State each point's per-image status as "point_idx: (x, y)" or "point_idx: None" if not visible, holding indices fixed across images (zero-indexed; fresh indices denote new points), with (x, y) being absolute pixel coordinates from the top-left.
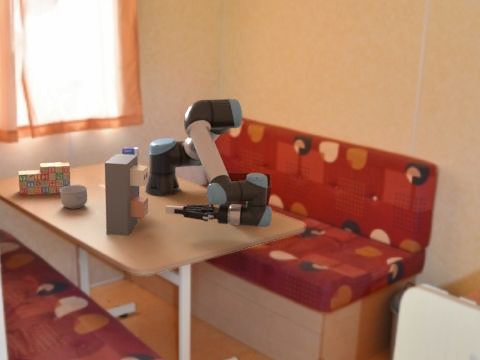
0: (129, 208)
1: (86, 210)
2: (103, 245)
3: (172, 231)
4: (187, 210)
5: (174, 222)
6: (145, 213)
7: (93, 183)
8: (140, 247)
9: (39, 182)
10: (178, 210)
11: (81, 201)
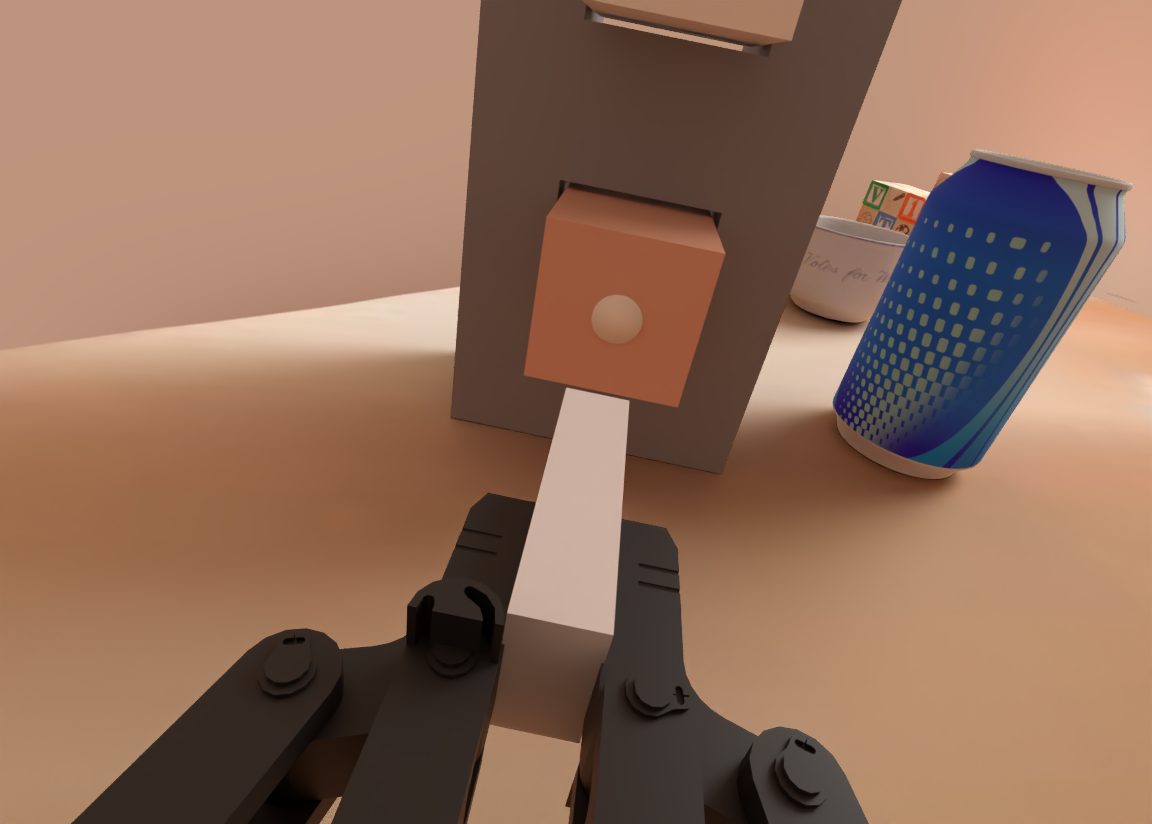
0: (529, 243)
1: (804, 328)
2: (297, 332)
3: (559, 740)
4: (267, 734)
5: (875, 761)
6: (592, 372)
7: (1147, 365)
8: (149, 465)
9: (907, 230)
10: (451, 556)
11: (820, 283)
